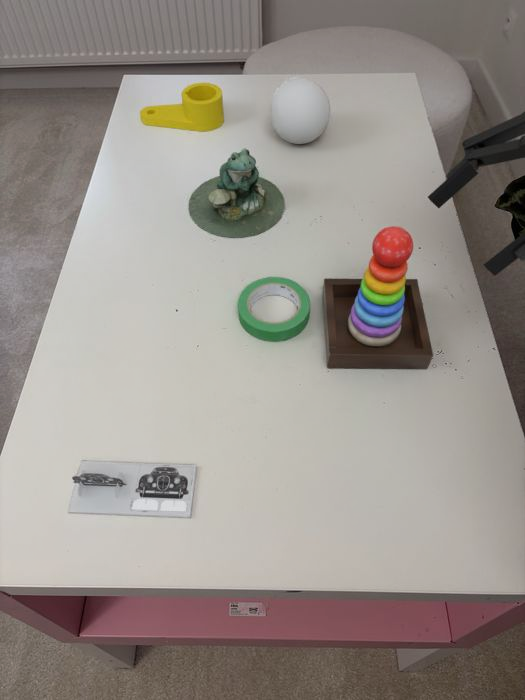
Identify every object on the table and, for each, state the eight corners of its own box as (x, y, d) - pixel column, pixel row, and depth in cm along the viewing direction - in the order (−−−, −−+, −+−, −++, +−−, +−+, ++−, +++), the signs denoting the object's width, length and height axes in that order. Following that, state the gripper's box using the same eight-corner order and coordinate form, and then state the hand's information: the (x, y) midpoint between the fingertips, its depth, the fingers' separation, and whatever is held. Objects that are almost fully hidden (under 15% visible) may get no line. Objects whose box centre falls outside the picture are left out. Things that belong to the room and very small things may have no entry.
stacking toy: (408, 322, 79) (442, 227, 64) (385, 357, 75) (414, 266, 60) (362, 300, 82) (384, 204, 67) (337, 333, 78) (354, 240, 63)
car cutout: (68, 513, 63) (56, 500, 60) (82, 462, 67) (71, 447, 64) (190, 518, 63) (185, 506, 59) (196, 466, 67) (192, 452, 63)
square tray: (426, 369, 75) (433, 355, 72) (327, 368, 75) (329, 354, 72) (412, 294, 83) (417, 278, 80) (322, 293, 84) (324, 278, 81)
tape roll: (229, 298, 83) (227, 287, 81) (292, 279, 85) (293, 268, 83) (253, 351, 77) (252, 340, 75) (320, 329, 79) (322, 318, 77)
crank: (225, 109, 115) (223, 83, 110) (222, 131, 110) (220, 104, 105) (145, 108, 115) (139, 81, 110) (138, 130, 111) (132, 102, 106)
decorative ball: (303, 116, 113) (306, 59, 103) (339, 142, 107) (346, 85, 98) (258, 135, 109) (257, 78, 99) (293, 163, 103) (295, 105, 94)
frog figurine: (214, 250, 89) (207, 195, 80) (173, 192, 99) (163, 136, 89) (302, 217, 94) (306, 161, 85) (256, 164, 103) (254, 108, 94)
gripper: (708, 182, 54) (526, 312, 63) (555, 69, 68) (424, 190, 77) (702, 147, 49) (505, 294, 58) (538, 32, 62) (400, 166, 72)
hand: (459, 235), depth 68 cm, fingers open, 13 cm apart
